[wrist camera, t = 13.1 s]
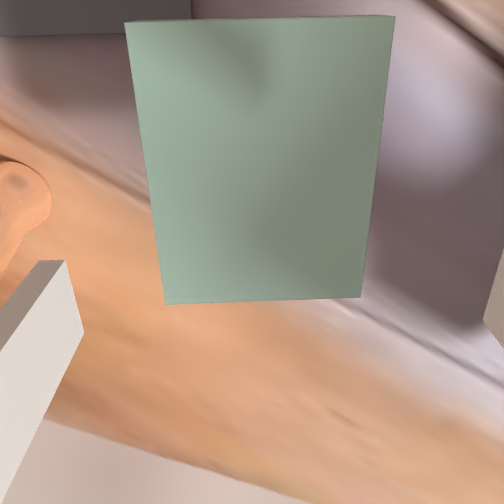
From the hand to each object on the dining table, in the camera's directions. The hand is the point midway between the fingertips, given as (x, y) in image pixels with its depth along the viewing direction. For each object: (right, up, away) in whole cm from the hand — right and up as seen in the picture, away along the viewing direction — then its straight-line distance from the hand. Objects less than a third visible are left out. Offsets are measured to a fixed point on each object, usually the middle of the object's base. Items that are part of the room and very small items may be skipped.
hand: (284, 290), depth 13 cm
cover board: (-1, +6, +10) cm, 12 cm away
